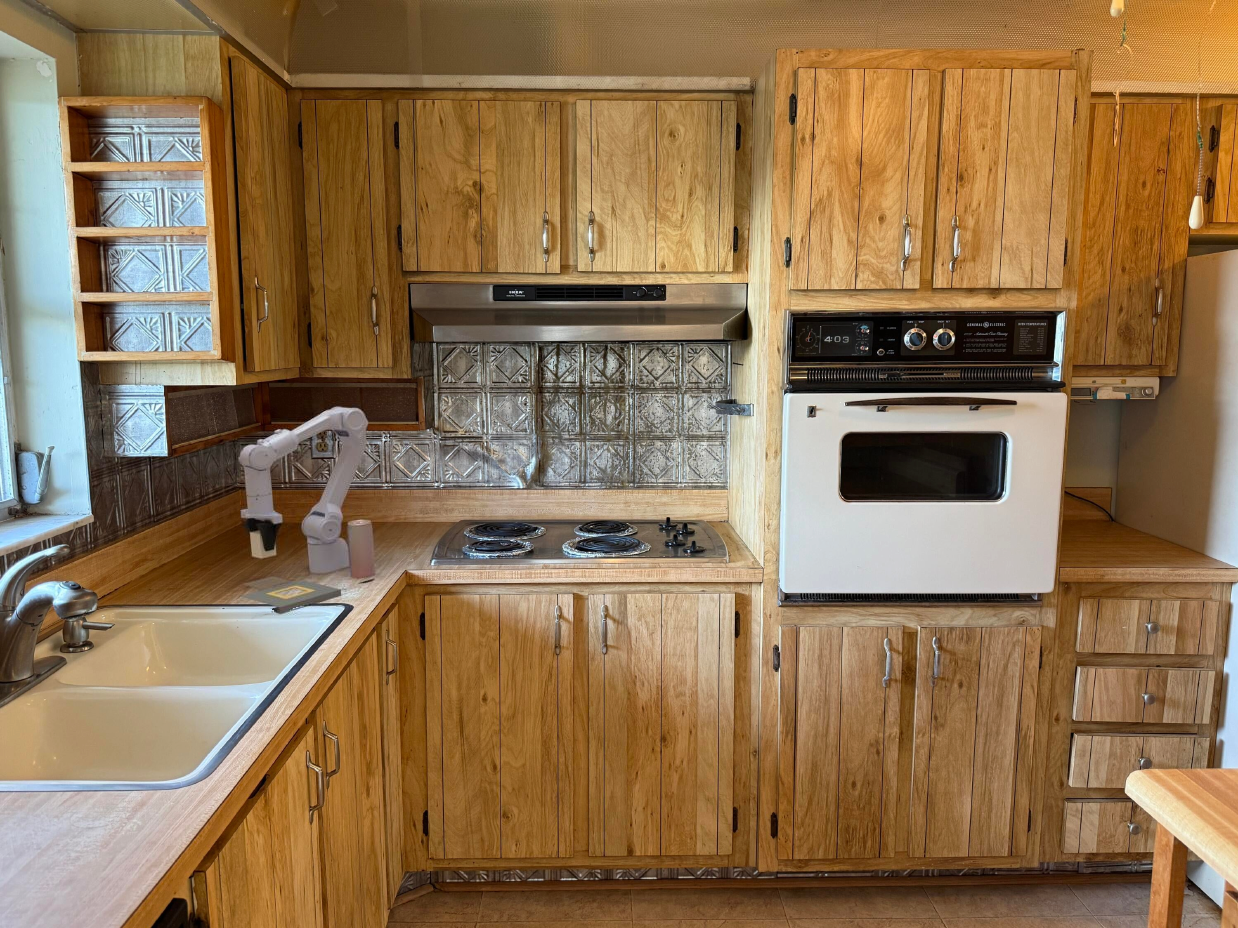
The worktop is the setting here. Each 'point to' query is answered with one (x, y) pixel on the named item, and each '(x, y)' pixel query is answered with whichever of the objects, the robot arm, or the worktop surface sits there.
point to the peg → (259, 546)
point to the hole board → (286, 604)
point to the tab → (266, 582)
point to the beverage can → (361, 549)
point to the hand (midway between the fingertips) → (264, 549)
